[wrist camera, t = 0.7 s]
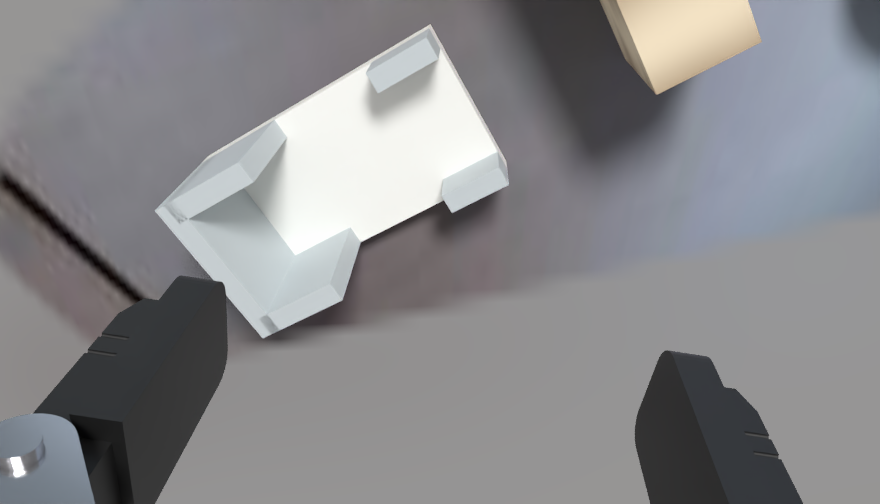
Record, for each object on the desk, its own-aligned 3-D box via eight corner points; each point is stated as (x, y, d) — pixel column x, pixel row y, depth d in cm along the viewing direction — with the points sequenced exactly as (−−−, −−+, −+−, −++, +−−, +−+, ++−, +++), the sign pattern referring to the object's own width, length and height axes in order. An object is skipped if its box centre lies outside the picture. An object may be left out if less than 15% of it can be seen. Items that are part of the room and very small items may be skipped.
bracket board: (430, 24, 30) (420, 56, 24) (506, 160, 33) (513, 218, 27) (208, 155, 33) (154, 210, 28) (295, 267, 36) (262, 338, 31)
